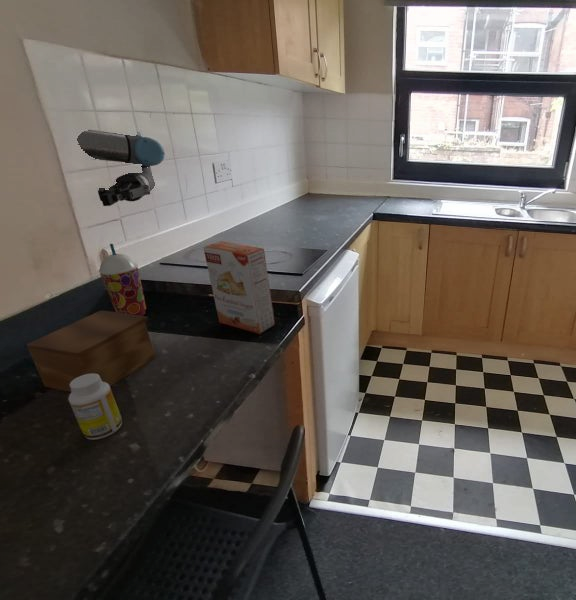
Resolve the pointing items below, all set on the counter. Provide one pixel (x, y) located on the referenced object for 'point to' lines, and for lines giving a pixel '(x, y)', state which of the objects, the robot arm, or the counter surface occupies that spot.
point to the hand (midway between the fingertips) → (105, 200)
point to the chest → (96, 360)
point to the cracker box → (240, 286)
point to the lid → (87, 333)
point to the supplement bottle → (94, 406)
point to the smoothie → (123, 283)
